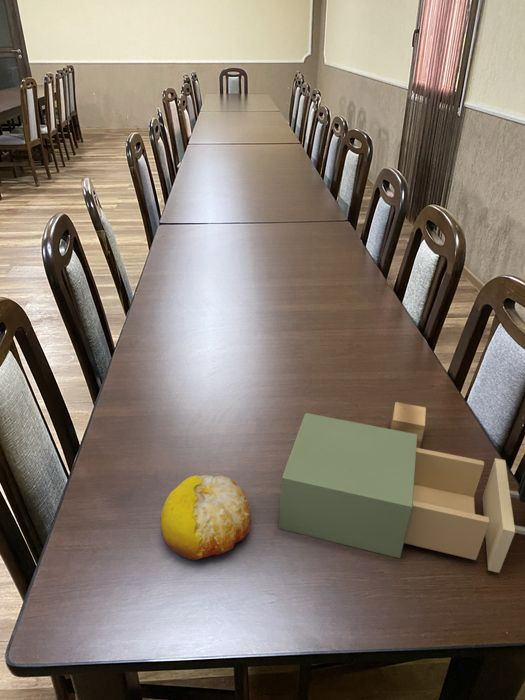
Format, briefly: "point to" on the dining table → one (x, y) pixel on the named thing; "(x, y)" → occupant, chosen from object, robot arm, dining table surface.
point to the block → (409, 420)
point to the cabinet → (349, 484)
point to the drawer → (461, 508)
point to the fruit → (205, 516)
